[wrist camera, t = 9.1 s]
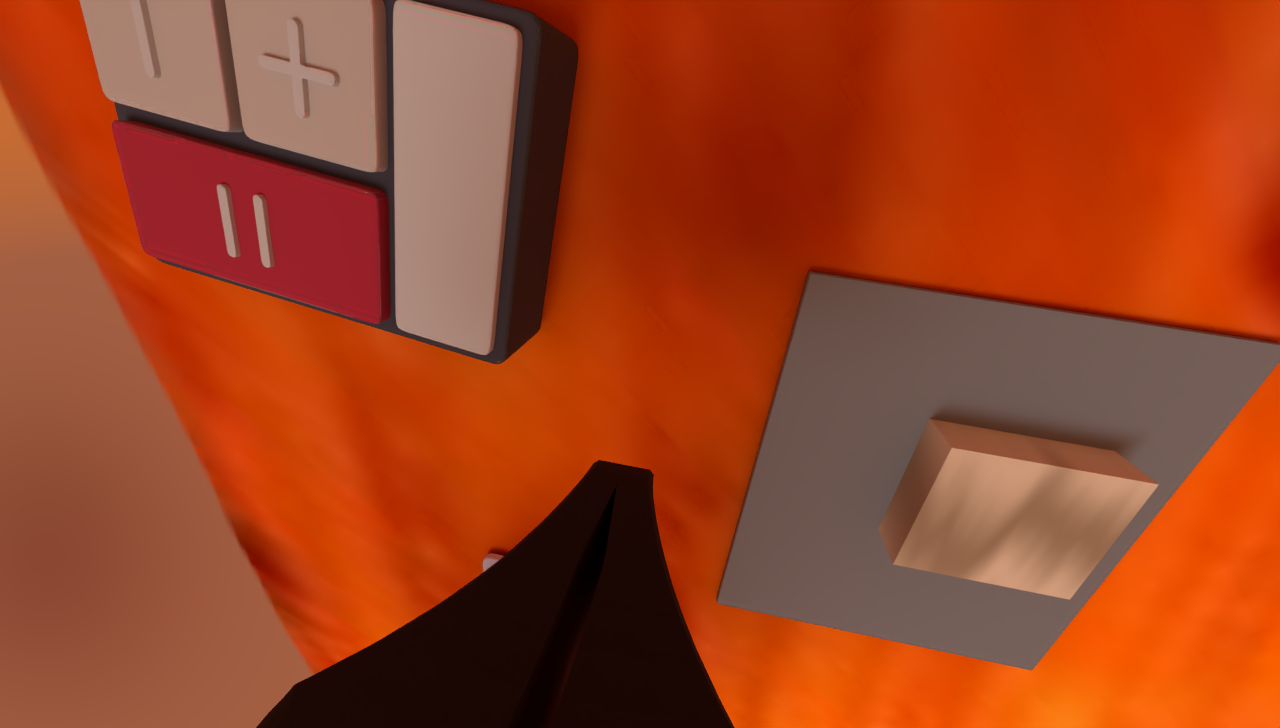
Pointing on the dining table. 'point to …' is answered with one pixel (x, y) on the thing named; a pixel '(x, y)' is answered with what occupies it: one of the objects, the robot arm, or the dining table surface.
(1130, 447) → the mat
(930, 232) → the dining table surface
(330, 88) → the calculator
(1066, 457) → the maple tile
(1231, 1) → the dining table surface
